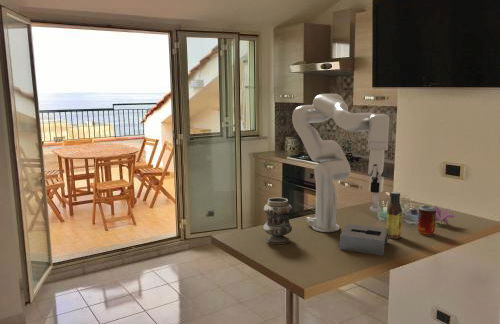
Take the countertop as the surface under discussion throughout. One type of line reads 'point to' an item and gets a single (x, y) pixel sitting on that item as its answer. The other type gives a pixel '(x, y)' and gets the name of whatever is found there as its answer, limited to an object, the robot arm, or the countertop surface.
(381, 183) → the peg
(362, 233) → the slotted grey box
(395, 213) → the sauce bottle
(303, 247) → the countertop surface
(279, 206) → the apothecary jar
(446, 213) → the lily
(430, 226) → the soda can
